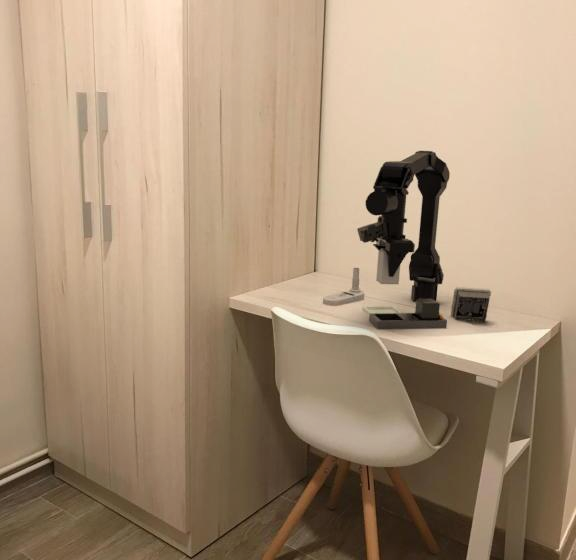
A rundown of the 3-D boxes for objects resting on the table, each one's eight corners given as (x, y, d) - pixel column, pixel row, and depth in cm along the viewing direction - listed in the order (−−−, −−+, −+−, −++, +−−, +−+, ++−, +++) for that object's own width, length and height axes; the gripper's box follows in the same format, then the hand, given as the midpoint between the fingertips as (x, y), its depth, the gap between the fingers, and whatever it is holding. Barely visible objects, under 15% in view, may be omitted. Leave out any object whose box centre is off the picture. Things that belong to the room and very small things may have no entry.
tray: (393, 310, 172) (393, 306, 172) (403, 318, 164) (403, 313, 164) (362, 310, 171) (362, 306, 170) (370, 318, 163) (370, 314, 163)
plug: (393, 280, 161) (395, 248, 159) (398, 284, 156) (401, 251, 155) (376, 280, 160) (378, 248, 158) (381, 284, 156) (384, 251, 154)
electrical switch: (485, 319, 167) (489, 286, 164) (489, 327, 162) (493, 293, 159) (449, 317, 168) (453, 284, 165) (452, 324, 163) (456, 291, 160)
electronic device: (320, 272, 174) (355, 265, 184) (319, 306, 176) (353, 297, 186) (334, 276, 170) (369, 268, 180) (332, 310, 172) (367, 301, 182)
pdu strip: (435, 322, 162) (437, 296, 161) (446, 330, 156) (448, 303, 154) (368, 322, 159) (370, 297, 158) (377, 331, 153) (378, 304, 151)
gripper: (352, 208, 162) (348, 267, 165) (372, 216, 144) (367, 281, 147) (393, 210, 164) (388, 268, 167) (418, 217, 146) (412, 282, 149)
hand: (388, 274), depth 158 cm, fingers closed on plug, 4 cm apart
